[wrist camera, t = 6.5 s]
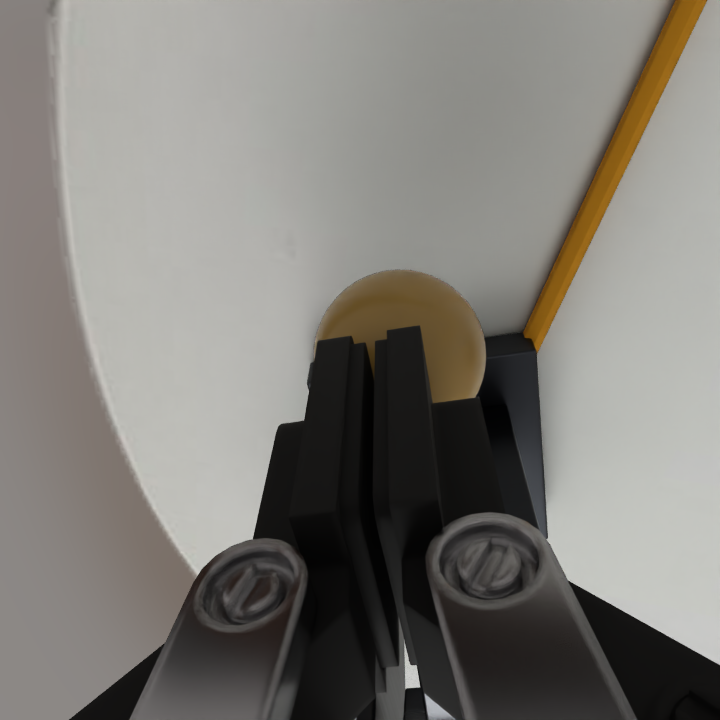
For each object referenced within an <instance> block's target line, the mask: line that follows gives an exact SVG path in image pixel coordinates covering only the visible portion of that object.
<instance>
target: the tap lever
mask: <svg viewBox="0 0 720 720" xmlns="http://www.w3.org/2000/svg"><path fill="white" fill-rule="evenodd" d="M417 325H420V327H421V333H422V339H423V345H424V352H425V358H426V364H427V370H428V376H429V383H430V389H431V395H432V401H433V403H438V402H446V401H453V400H460V399H468V398H475V397H476V395H477V393H478V391H479V389H480V387H481V384H482V381H483V378H484V373H485V368H486V345H485V339H484V334H483V331H482V328H481V325H480V322H479V320H478V318H477V316H476V314H475V312H474V311H473V309H472V308H471V306H470V305H469V303H468V302H467V301H466V300H465V299H464V298H463V296H462V295H461V294H460V293H459V292H457V291H456V290H455V289H454V288H453V287H451V286H450V285H448V284H447V283H445V282H444V281H442V280H440V279H438V278H436V277H434V276H432V275H429V274H425V273H422V272H418V271H412V270H398V269H397V270H387V271H382V272H378V273H374V274H371V275H369V276H366V277H364V278H362V279H360V280H358V281H356V282H354V283H353V284H351V285H350V286H349V287H347V288H346V289H345V290H344V291H343V292H342V293H340V294H339V295H338V296H337V297H336V299H335V300H334V301H333V302H332V304H331V305H330V306H329V307H328V309H327V311H326V312H325V314H324V316H323V318H322V320H321V322H320V324H319V327H318V330H317V334H316V337H315V344H314V359H315V353H316V347H317V342H318V341H319V340H325V339H332V338H338V337H345V336H352V338H353V341H354V344H357V343H363V342H365V343H366V346H367V349H368V354H369V358H370V363H371V368H372V373H373V377H374V366H375V341H377V340H383V339H387V330H391V329H398V328H404V327H411V326H417ZM417 669H418V665H417ZM418 675H419V681H420V688H407V689H406V690H405V697H404V713H403V720H456V719H455V718H453V717H452V716H451V715H450V714H449V713H447V712H446V711H445V710H444V709H443V708H441V707H440V706H439V705H438V704H436V703H435V702H434V701H433V700H432V699H430V698H429V697H428V696H427V695H426V694H424V690H423V686H422V682H421V678H420V673H419V669H418Z"/></svg>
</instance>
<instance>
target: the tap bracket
mask: <svg viewBox="0 0 720 720" xmlns="http://www.w3.org/2000/svg"><path fill="white" fill-rule="evenodd" d="M484 339H485V345H486V368H485V373H484V378H483V381H482V384H481V387H480V389H479V391H478V393H477V395H476V397H479V398H480V401H481V405H482V410H483V414H484V419H485V423H486V428H487V432H488V437H489V441H490V445H491V450H492V454H493V459H494V463H495V468H496V472H497V477H498V481H499V486H500V490H501V495H502V499H503V504H504V508H505V513H506V514H509V515H512V516H514V517H517V518H520V519H522V520H525V521H527V522H528V523H530V524H531V525H532V526H534V527H535V528H537V529H538V530H539V531H540V532H541V533H542V534H543V536H544V537H545V538H546V539H547V538H548V531H547V515H546V499H545V482H544V466H543V449H542V433H541V417H540V400H539V384H538V368H537V351H536V348H535V346H534V343H533V340H532V339H531V338H525V337H524V334H523V332H520V333H513V334H506V335H499V336H492V337H486V338H484ZM313 365H314V362H313V363H311V364H310V369H309V374H308V380H307V386H308V389H310V383H311V377H312V371H313ZM399 650H400V662H399V666H397V667H386V693H375V698H374V699H373V700H372V701H371V702H370V703H369V705H368V706H367V707H366V708H365V709H364V710H363V711H362V712H361V713H360V714H359V715H358V716H357V717H356V718H357V720H403V713H404V697H405V657H404V637H403V632H402V628H401V624H400V620H399Z"/></svg>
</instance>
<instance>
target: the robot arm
mask: <svg viewBox="0 0 720 720" xmlns="http://www.w3.org/2000/svg"><path fill="white" fill-rule="evenodd" d="M399 620H400V624H401V628H402V632H403V637H404V641H405V645H406V649H407V653H408V657H409V661H410V664H411V665H418V669H419V673H420V678H421V682H422V686H423V690H424V694H426V695H427V696H428V697H429V698H430V699H432V700H433V701H434V702H435V703H436V704H438V705H439V706H440V707H441V708H443V709H444V710H445V711H446V712H447V713H449V714H450V715H451V716H452V717H453V718H455V719H456V720H720V665H718V664H717V663H715V662H713V661H711V660H709V659H708V658H706V657H704V656H702V655H700V654H699V653H697V652H695V651H693V650H691V649H690V648H688V647H686V646H684V645H683V644H681V643H679V642H677V641H675V640H674V639H672V638H670V637H668V636H666V635H665V634H663V633H661V632H659V631H657V630H656V629H654V628H652V627H650V626H648V625H647V624H645V623H643V622H641V621H639V620H638V619H636V618H634V617H632V616H630V615H629V614H627V613H625V612H623V611H622V610H620V609H618V608H616V607H614V606H613V605H611V604H609V603H607V602H605V601H604V600H602V599H600V598H598V597H596V596H595V595H593V594H591V593H589V592H587V591H586V590H584V589H582V588H580V587H578V586H577V585H575V584H573V583H571V582H570V581H568V580H567V578H566V576H565V574H564V572H563V570H562V568H561V566H560V564H559V562H558V560H557V558H556V556H555V554H554V552H553V550H552V548H551V546H550V544H549V543H548V541H547V540H546V538H545V537H544V536H543V534H542V533H541V532H540V531H539V530H538V529H537V528H535V527H534V526H532V525H531V524H530V523H528V522H527V521H525V520H522V519H520V518H517V517H514V516H512V515H509V514H506V513H505V508H504V504H503V499H502V495H501V490H500V486H499V481H498V477H497V472H496V468H495V463H494V459H493V454H492V450H491V445H490V441H489V437H488V432H487V428H486V423H485V419H484V414H483V410H482V405H481V401H480V398H479V397H475V398H468V399H460V400H453V401H446V402H438V403H433V401H432V395H431V389H430V383H429V376H428V370H427V364H426V358H425V352H424V345H423V339H422V333H421V327H420V325H417V326H411V327H404V328H398V329H391V330H387V339H383V340H377V341H375V366H374V377H373V373H372V368H371V363H370V358H369V354H368V349H367V346H366V343H365V342H363V343H357V344H354V341H353V338H352V336H345V337H338V338H332V339H325V340H319V341H318V342H317V347H316V353H315V359H314V365H313V371H312V377H311V383H310V389H309V395H308V401H307V407H306V413H305V419H304V421H300V422H292V423H285V424H281V425H279V426H278V429H277V432H276V436H275V441H274V445H273V450H272V454H271V459H270V464H269V468H268V473H267V477H266V482H265V486H264V491H263V495H262V500H261V505H260V509H259V514H258V518H257V523H256V527H255V532H254V537H253V540H248V541H245V542H242V543H239V544H236V545H233V546H231V547H229V548H228V549H226V550H225V551H223V552H221V553H220V554H218V555H216V556H215V557H214V558H213V559H212V560H211V561H210V562H209V563H208V564H207V565H206V566H205V567H204V568H203V569H202V570H201V572H200V573H199V575H198V576H197V578H196V579H195V581H194V583H193V585H192V587H191V589H190V591H189V593H188V595H187V597H186V599H185V602H184V604H183V606H182V608H181V610H180V613H179V614H178V617H177V619H176V621H175V623H174V625H173V627H172V630H171V632H170V634H169V636H168V638H167V640H166V642H165V644H163V645H162V646H161V647H159V648H158V649H157V650H156V651H154V652H153V653H152V654H151V655H149V656H148V657H147V658H146V659H144V660H143V661H142V662H141V663H139V664H138V665H137V666H136V667H134V668H133V669H132V670H131V671H129V672H128V673H127V674H126V675H124V676H123V677H122V678H121V679H119V680H118V681H117V682H116V683H115V684H113V685H112V686H111V687H109V688H108V689H107V690H106V691H105V692H103V693H102V694H101V695H99V696H98V697H97V698H96V699H95V700H93V701H92V702H91V703H89V704H88V705H87V706H86V707H84V708H83V709H82V710H81V711H79V712H78V713H77V714H76V715H75V716H73V717H72V718H71V719H69V720H357V718H356V717H357V716H358V715H359V714H360V713H361V712H362V711H363V710H364V709H365V708H366V707H367V706H368V705H369V703H370V702H371V701H372V700H373V699H374V698H375V693H386V667H397V666H399V662H400V650H399Z"/></svg>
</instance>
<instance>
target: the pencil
mask: <svg viewBox="0 0 720 720" xmlns="http://www.w3.org/2000/svg"><path fill="white" fill-rule="evenodd" d="M706 2H707V0H675V2H674V5H673V7H672V9H671V11H670V13H669V15H668V18H667V20H666V22H665V24H664V26H663V29H662V31H661V33H660V35H659V37H658V39H657V42H656V44H655V46H654V48H653V50H652V53H651V55H650V57H649V59H648V61H647V63H646V66H645V68H644V70H643V72H642V74H641V76H640V79H639V81H638V83H637V85H636V87H635V90H634V92H633V94H632V96H631V98H630V100H629V103H628V105H627V107H626V109H625V111H624V114H623V116H622V118H621V120H620V122H619V124H618V127H617V129H616V131H615V133H614V135H613V137H612V140H611V142H610V144H609V146H608V148H607V151H606V153H605V155H604V157H603V159H602V161H601V164H600V166H599V168H598V170H597V172H596V175H595V177H594V179H593V181H592V183H591V185H590V188H589V190H588V192H587V194H586V196H585V198H584V201H583V203H582V205H581V207H580V209H579V212H578V214H577V216H576V218H575V220H574V222H573V225H572V227H571V229H570V231H569V233H568V236H567V238H566V240H565V242H564V244H563V246H562V249H561V251H560V253H559V255H558V257H557V259H556V262H555V264H554V266H553V268H552V270H551V273H550V275H549V277H548V279H547V281H546V283H545V286H544V288H543V290H542V292H541V294H540V297H539V299H538V301H537V303H536V305H535V307H534V310H533V312H532V314H531V316H530V318H529V320H528V323H527V325H526V327H525V329H524V331H523V334H524V337H525V338H531V339H532V340H533V343H534V346H535V348H536V351H537V353H538V350H539V348H540V346H541V344H542V342H543V340H544V338H545V336H546V334H547V332H548V330H549V328H550V326H551V323H552V321H553V319H554V317H555V315H556V313H557V311H558V309H559V307H560V305H561V303H562V301H563V299H564V297H565V294H566V292H567V290H568V288H569V286H570V284H571V282H572V280H573V278H574V276H575V274H576V272H577V270H578V267H579V265H580V263H581V261H582V259H583V257H584V255H585V253H586V251H587V249H588V247H589V245H590V243H591V240H592V238H593V236H594V234H595V232H596V230H597V228H598V226H599V224H600V222H601V220H602V218H603V216H604V213H605V211H606V209H607V207H608V205H609V203H610V201H611V199H612V197H613V195H614V193H615V191H616V189H617V186H618V184H619V182H620V180H621V178H622V176H623V174H624V172H625V170H626V168H627V166H628V164H629V162H630V159H631V157H632V155H633V153H634V151H635V149H636V147H637V145H638V143H639V141H640V139H641V137H642V135H643V132H644V130H645V128H646V126H647V124H648V122H649V120H650V118H651V116H652V114H653V112H654V110H655V108H656V105H657V103H658V101H659V99H660V97H661V95H662V93H663V91H664V89H665V87H666V85H667V83H668V81H669V78H670V76H671V74H672V72H673V70H674V68H675V66H676V64H677V62H678V60H679V58H680V56H681V54H682V51H683V49H684V47H685V45H686V43H687V41H688V39H689V37H690V35H691V33H692V31H693V29H694V27H695V24H696V22H697V20H698V18H699V16H700V14H701V12H702V10H703V8H704V6H705V4H706Z"/></svg>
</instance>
